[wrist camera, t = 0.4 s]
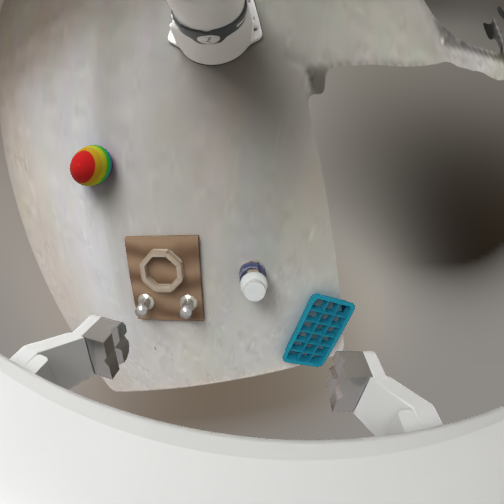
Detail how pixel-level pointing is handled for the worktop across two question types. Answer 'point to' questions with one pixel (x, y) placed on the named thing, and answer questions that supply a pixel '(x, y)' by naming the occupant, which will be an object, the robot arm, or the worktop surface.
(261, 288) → the pill bottle
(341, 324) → the ice cube tray
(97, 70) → the worktop surface
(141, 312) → the steel pins
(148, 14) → the worktop surface
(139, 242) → the board
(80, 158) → the decorative egg
